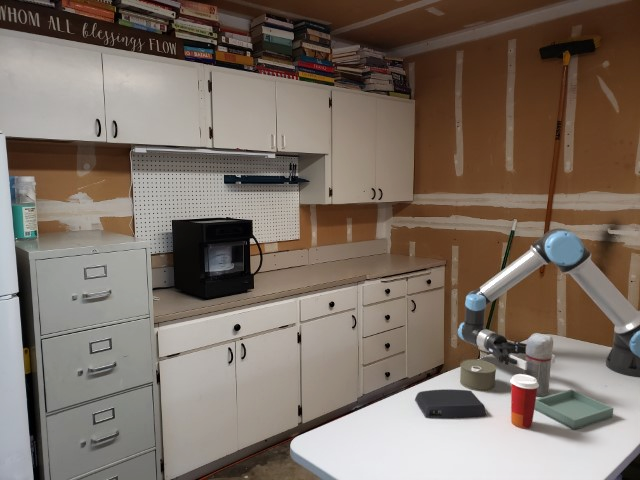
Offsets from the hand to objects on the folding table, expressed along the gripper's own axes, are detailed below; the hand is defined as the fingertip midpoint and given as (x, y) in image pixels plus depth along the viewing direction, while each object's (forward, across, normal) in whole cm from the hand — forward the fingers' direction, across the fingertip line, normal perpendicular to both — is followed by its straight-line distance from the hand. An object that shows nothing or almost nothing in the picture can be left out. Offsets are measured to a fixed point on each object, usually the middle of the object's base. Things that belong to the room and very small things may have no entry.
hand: (540, 362), depth 158 cm
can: (-14, +14, -11) cm, 23 cm away
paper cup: (+12, +22, -11) cm, 27 cm away
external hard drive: (-4, +35, -12) cm, 37 cm away
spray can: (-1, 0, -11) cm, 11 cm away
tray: (+14, +2, -11) cm, 18 cm away
